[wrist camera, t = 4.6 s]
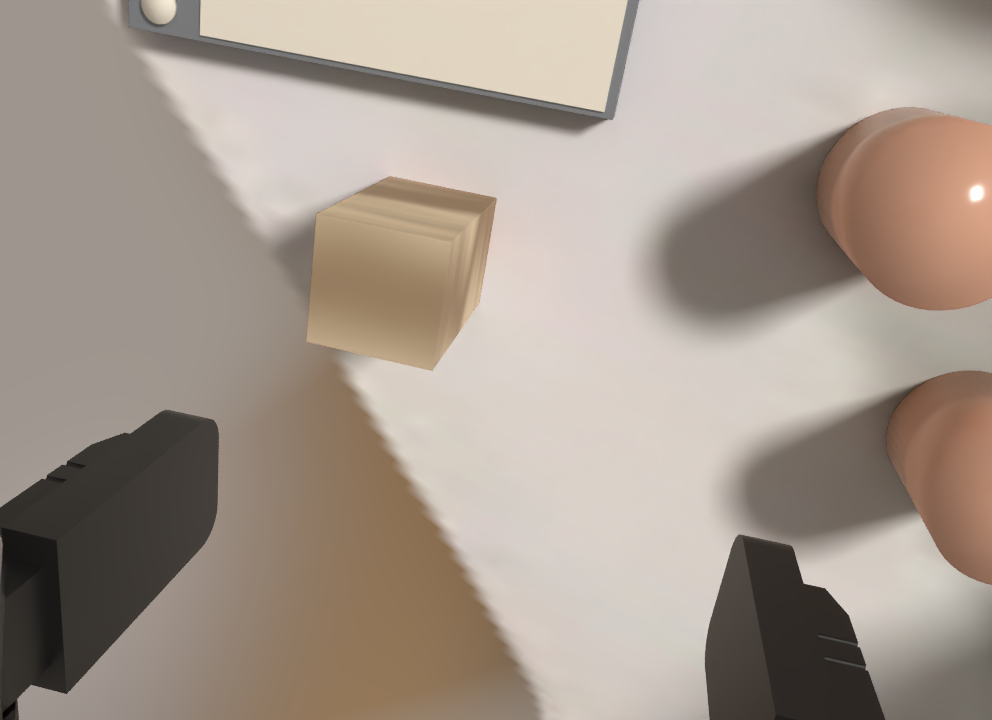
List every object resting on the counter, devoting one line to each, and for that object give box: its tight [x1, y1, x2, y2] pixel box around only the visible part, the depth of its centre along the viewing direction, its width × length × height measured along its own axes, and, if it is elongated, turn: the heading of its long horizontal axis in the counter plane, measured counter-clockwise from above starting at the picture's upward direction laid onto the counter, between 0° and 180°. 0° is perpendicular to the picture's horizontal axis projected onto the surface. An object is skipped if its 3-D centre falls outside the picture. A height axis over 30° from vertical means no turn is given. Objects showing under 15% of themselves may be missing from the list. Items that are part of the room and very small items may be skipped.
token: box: [306, 176, 497, 371], centre depth 27 cm, size 4×4×7 cm
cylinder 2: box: [886, 371, 992, 585], centre depth 27 cm, size 5×5×6 cm
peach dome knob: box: [816, 107, 992, 310], centre depth 24 cm, size 5×5×6 cm
